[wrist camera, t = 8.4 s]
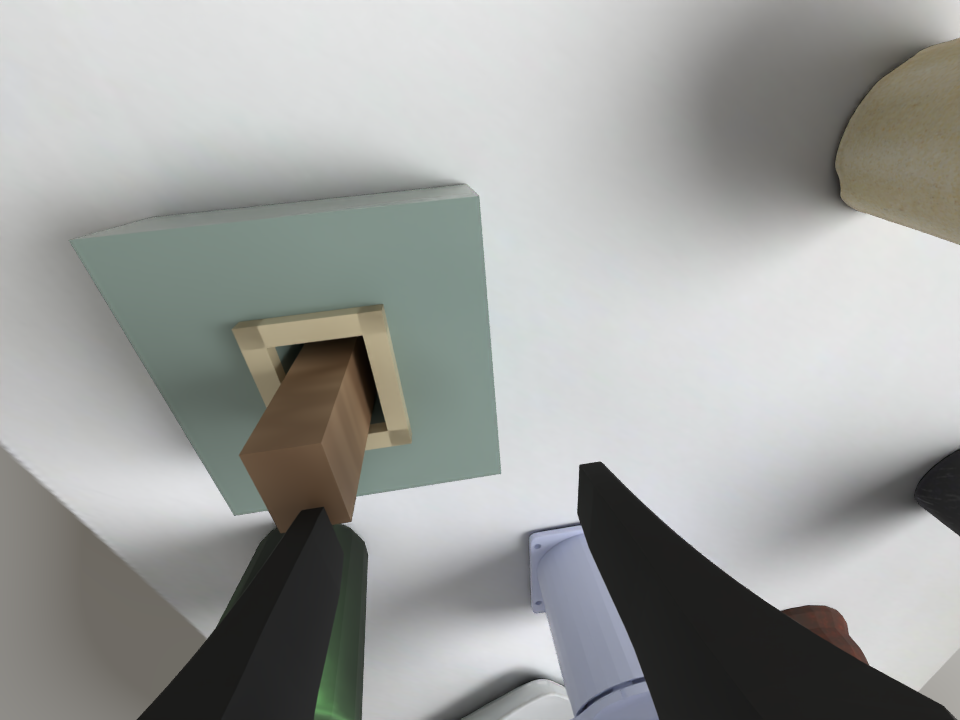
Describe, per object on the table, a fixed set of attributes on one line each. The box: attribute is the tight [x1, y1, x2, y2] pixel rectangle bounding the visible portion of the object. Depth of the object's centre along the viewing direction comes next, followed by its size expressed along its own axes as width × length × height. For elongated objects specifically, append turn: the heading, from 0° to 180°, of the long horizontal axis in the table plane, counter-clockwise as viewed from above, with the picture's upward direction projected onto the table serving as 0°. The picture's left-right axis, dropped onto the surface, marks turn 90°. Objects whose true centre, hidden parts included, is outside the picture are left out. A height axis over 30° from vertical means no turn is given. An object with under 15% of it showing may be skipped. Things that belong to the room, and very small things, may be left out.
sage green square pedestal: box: [69, 184, 501, 516], centre depth 16 cm, size 12×12×5 cm
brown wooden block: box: [239, 335, 377, 533], centre depth 14 cm, size 2×3×8 cm, turn 5°
